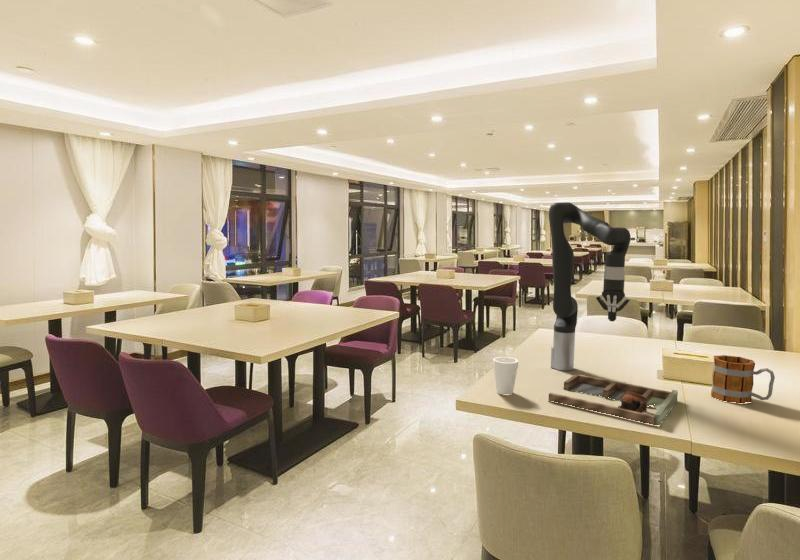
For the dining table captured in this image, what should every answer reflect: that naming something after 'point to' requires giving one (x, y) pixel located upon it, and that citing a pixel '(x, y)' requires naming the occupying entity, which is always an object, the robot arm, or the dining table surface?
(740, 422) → the dining table surface
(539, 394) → the dining table surface
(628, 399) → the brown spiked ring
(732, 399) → the mug
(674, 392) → the wooden divided tray
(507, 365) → the foam cup
